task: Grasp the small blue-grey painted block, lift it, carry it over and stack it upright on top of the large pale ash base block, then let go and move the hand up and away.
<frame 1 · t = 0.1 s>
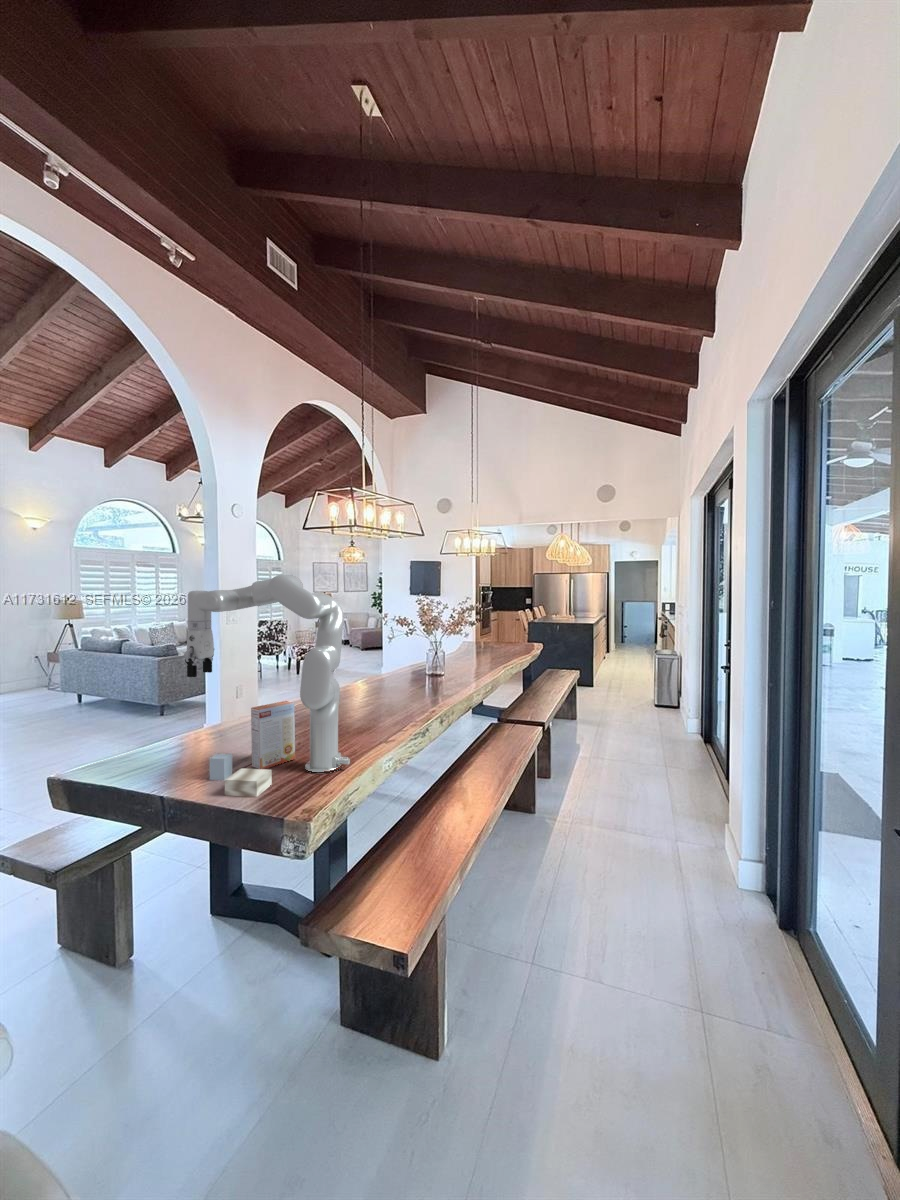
hand: (199, 674, 188), 31 cm above the table, tool pointing down, fingers open, 9 cm apart
ash base block: (248, 790, 164), on the table
blue-grey block: (221, 777, 174), on the table
cracker box: (273, 764, 188), on the table
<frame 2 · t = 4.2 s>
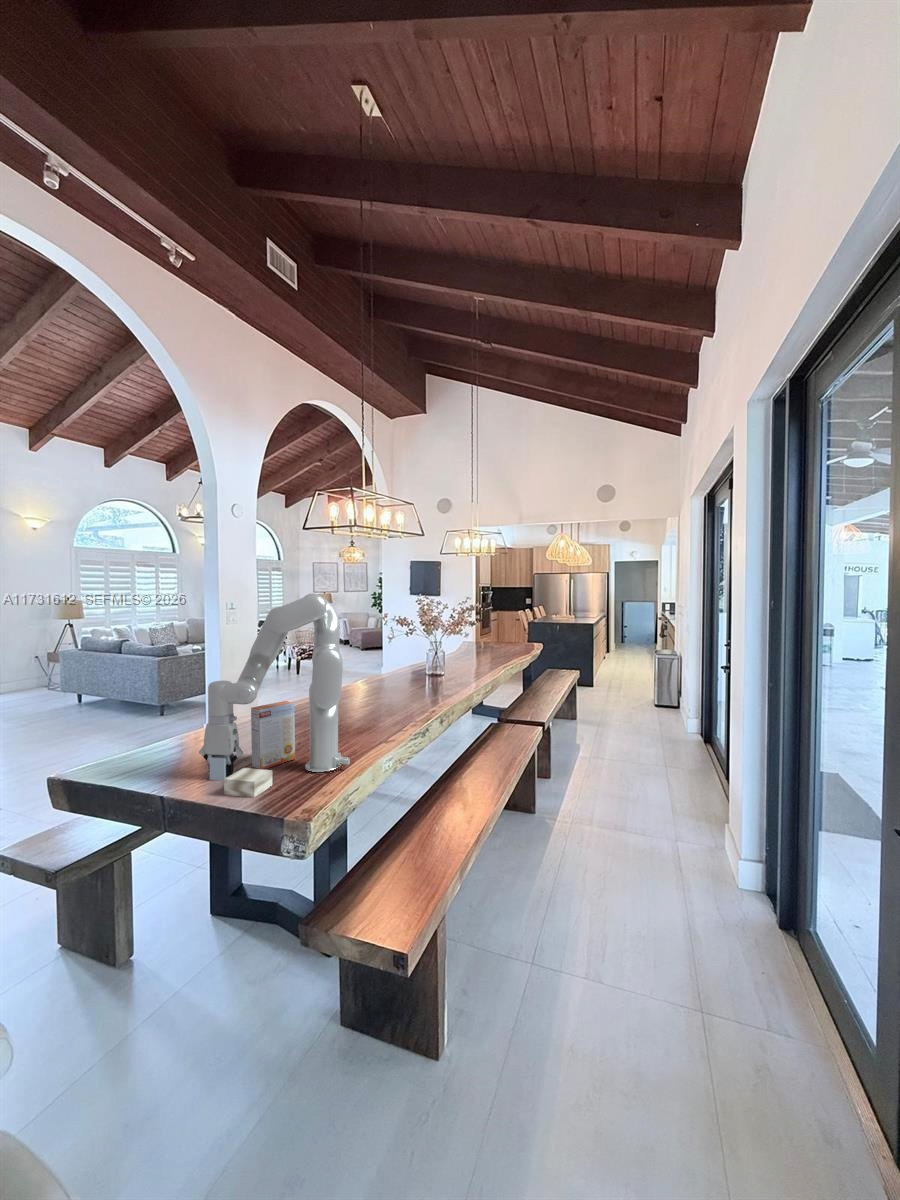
hand: (221, 774, 174), 1 cm above the table, tool pointing down, fingers closed on blue-grey block, 5 cm apart
blue-grey block: (221, 777, 174), on the table, touching gripper
everything else where it was.
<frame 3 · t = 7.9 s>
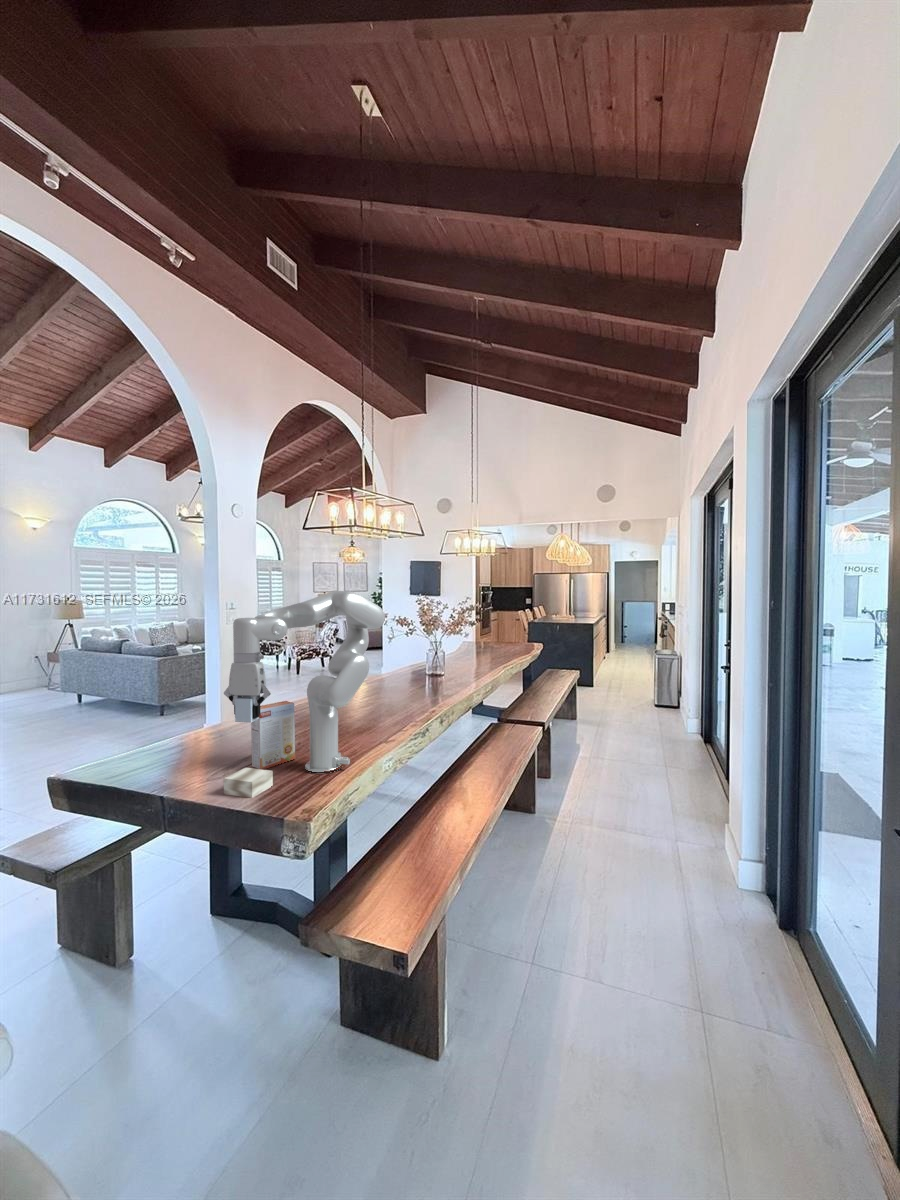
hand: (247, 716, 164), 22 cm above the table, tool pointing down, fingers closed on blue-grey block, 5 cm apart
blue-grey block: (247, 720, 164), point 21 cm above the table, touching gripper
everything else where it was.
when the fingers open (7 cm above the table, at t = 11.7 s): blue-grey block drops 2 cm, resting on ash base block.
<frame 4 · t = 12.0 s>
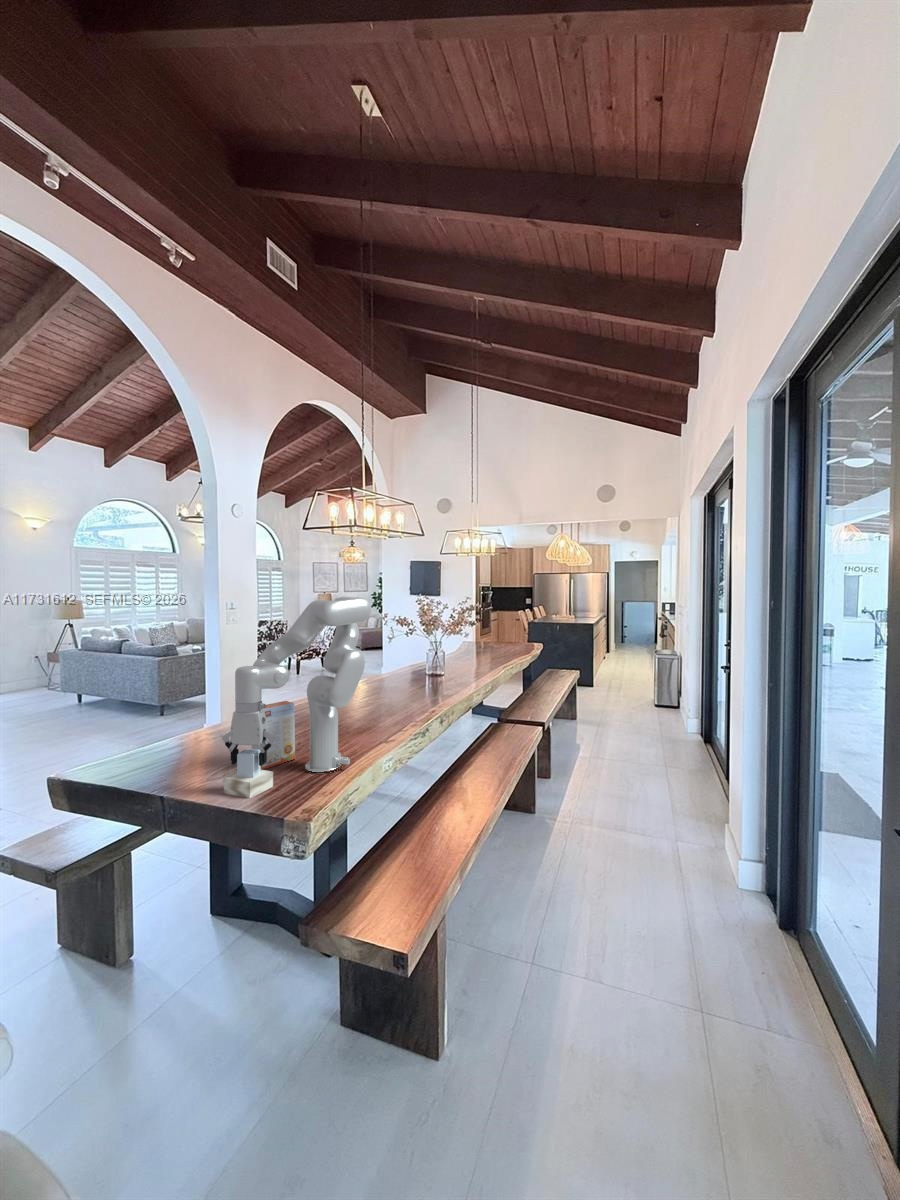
hand: (248, 763, 164), 8 cm above the table, tool pointing down, fingers open, 8 cm apart
ash base block: (248, 790, 164), on the table, touching blue-grey block
blue-grey block: (249, 774, 164), point 5 cm above the table, touching ash base block
everything else where it was.
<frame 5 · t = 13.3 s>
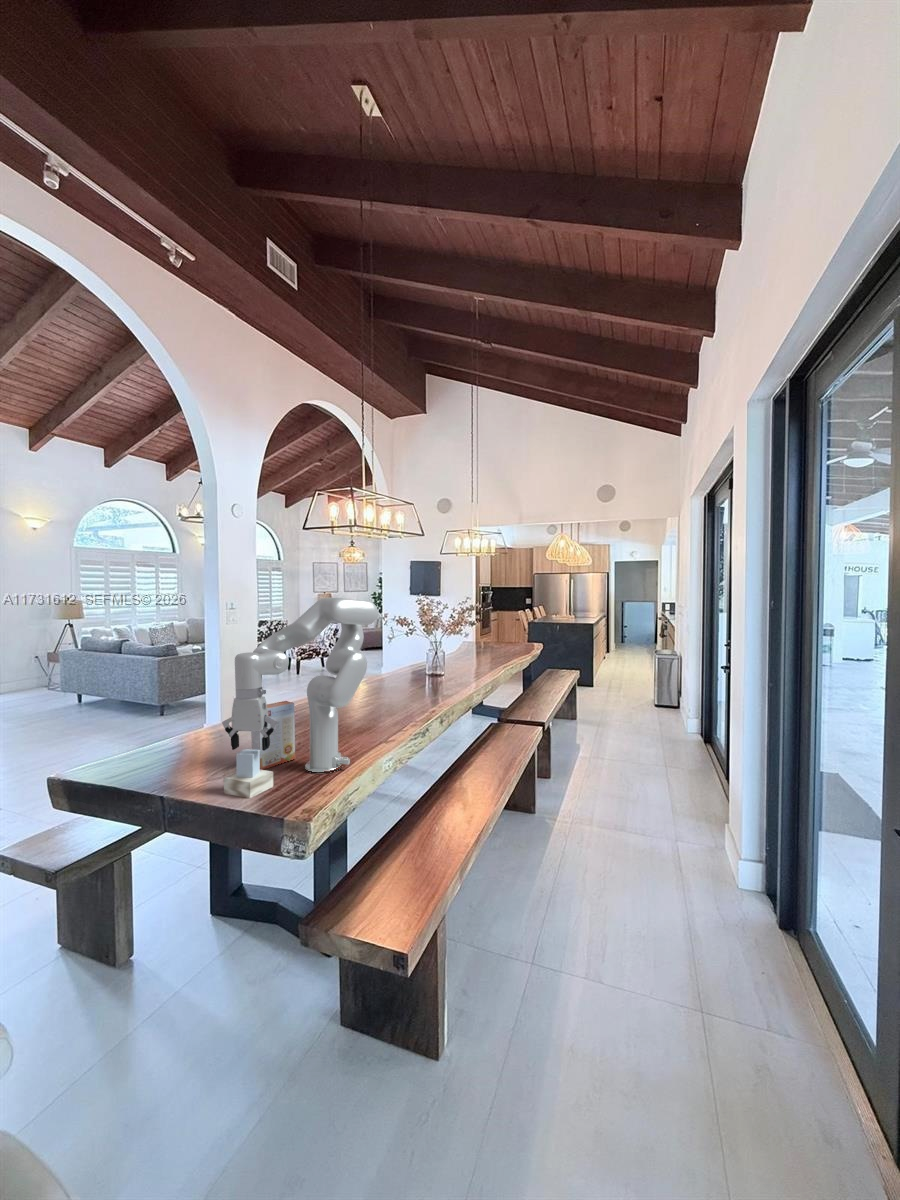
hand: (250, 748, 164), 12 cm above the table, tool pointing down, fingers open, 9 cm apart
ash base block: (249, 790, 164), on the table
blue-grey block: (248, 774, 164), point 5 cm above the table
everything else where it was.
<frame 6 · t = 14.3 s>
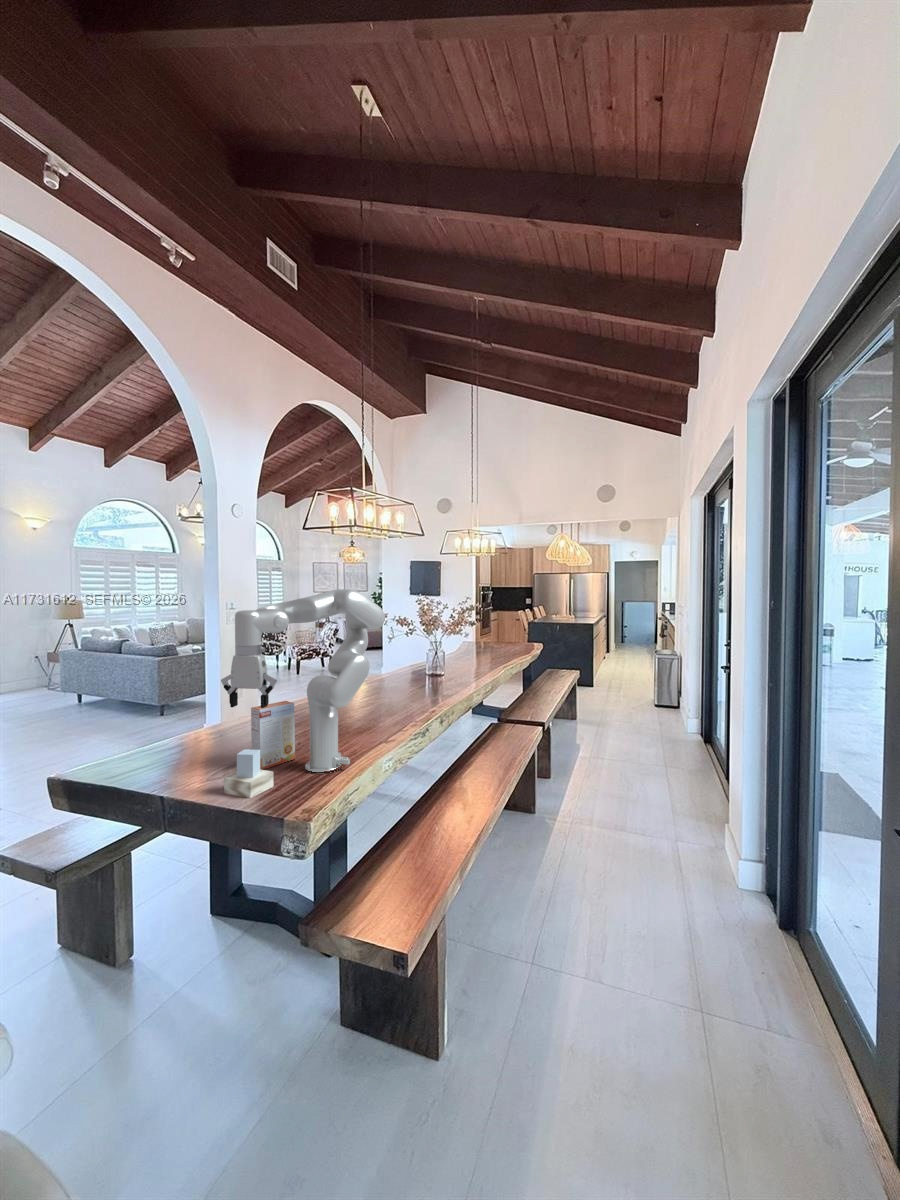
hand: (249, 706, 163), 25 cm above the table, tool pointing down, fingers open, 9 cm apart
nothing on the table moved.
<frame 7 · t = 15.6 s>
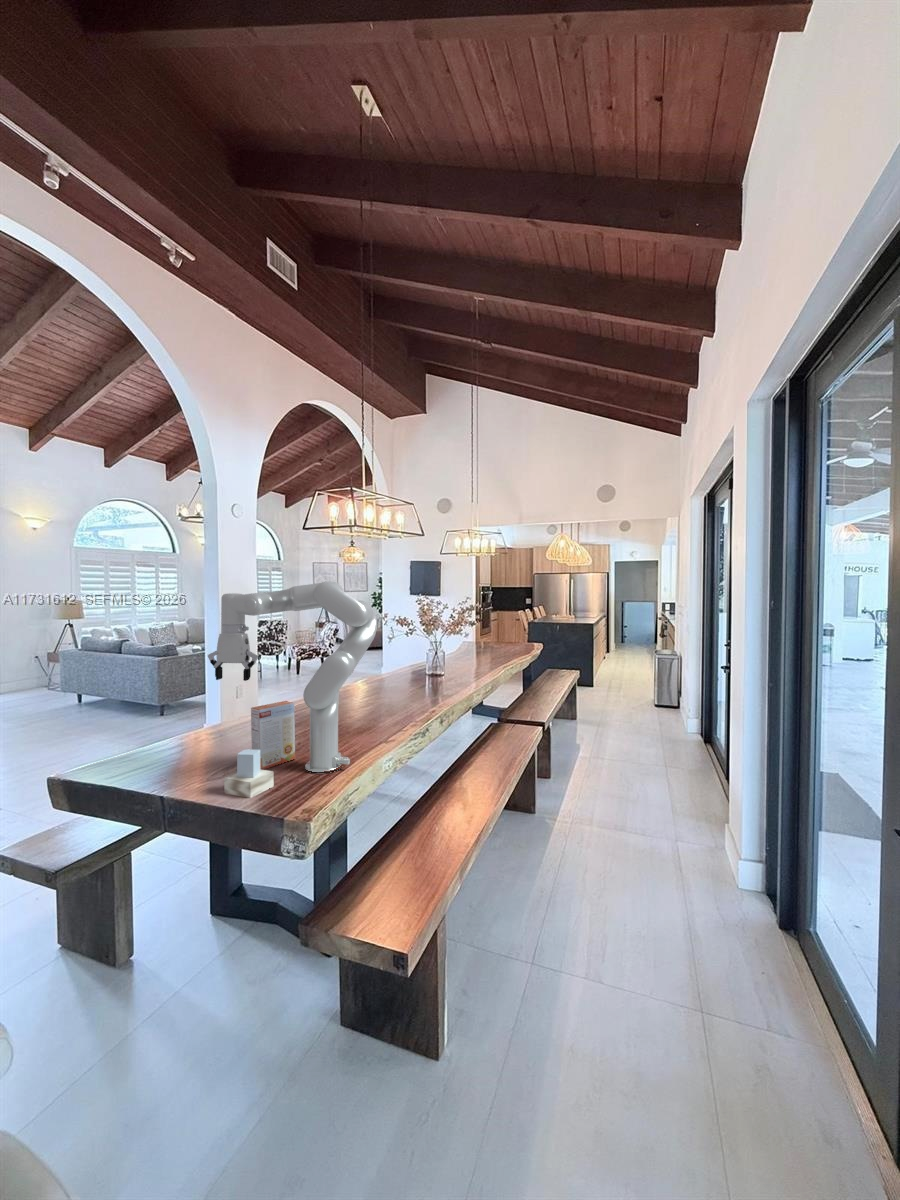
hand: (232, 679, 183), 30 cm above the table, tool pointing down, fingers open, 9 cm apart
ash base block: (249, 790, 164), on the table, touching blue-grey block
blue-grey block: (249, 774, 164), point 5 cm above the table, touching ash base block
everything else where it was.
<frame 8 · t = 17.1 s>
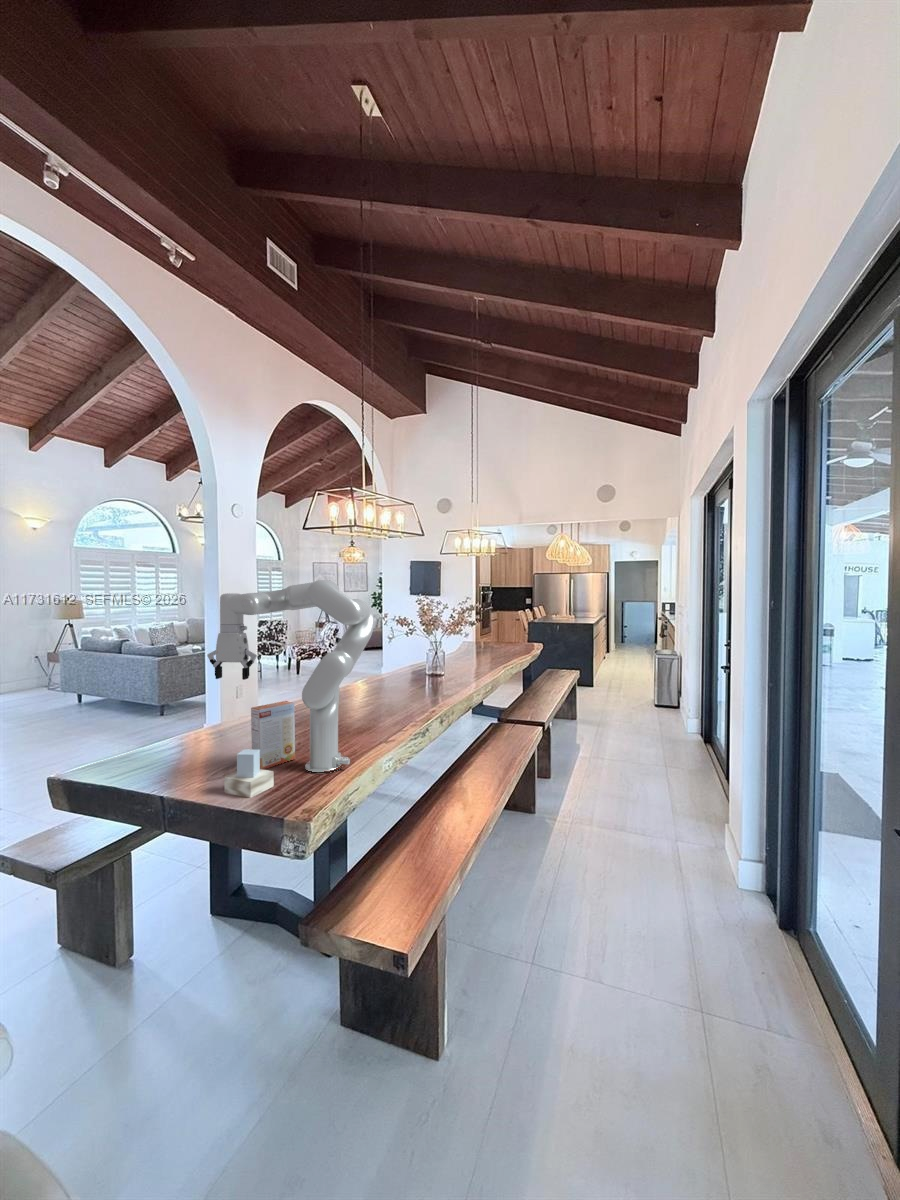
hand: (232, 678, 185), 30 cm above the table, tool pointing down, fingers open, 9 cm apart
nothing on the table moved.
at the end: blue-grey block 0.3 cm off-centre on the ash base block, point 5.0 cm above the ash base block's base; blue-grey block tilted 0°; the gripper is holding nothing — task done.
